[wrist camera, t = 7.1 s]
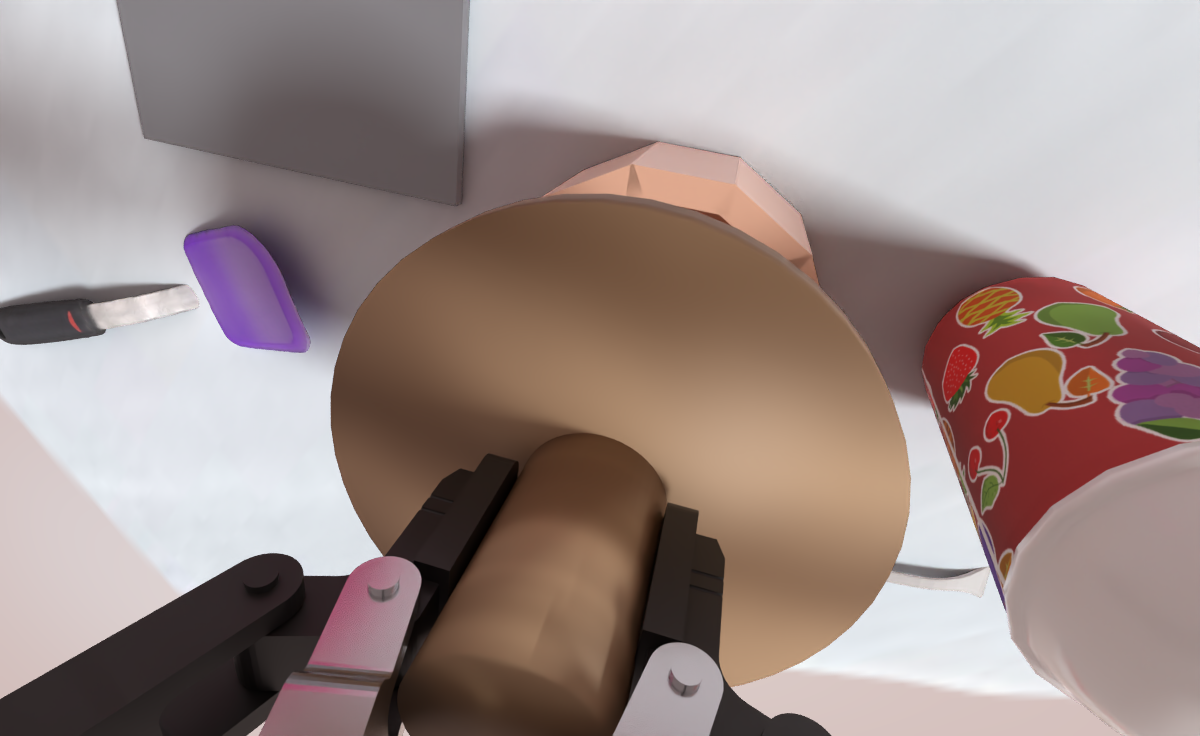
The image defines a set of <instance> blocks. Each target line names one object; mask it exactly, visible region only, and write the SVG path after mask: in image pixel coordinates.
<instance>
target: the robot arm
mask: <svg viewBox="0 0 1200 736" xmlns="http://www.w3.org/2000/svg"><path fill="white" fill-rule="evenodd" d="M518 472H519V462H518V461H516V460H512V459H508V458H505V457H501V456H497V455H494V454H490V453H488V454H486V455H485V457H484V458H483V459H482V461H481V462H480V464H479V465H478V467H477V468H476V470H475V471H474V472H472V471H469V470H465V469H461V468H460V469H458V470H457V471H455V472H453V473H452V474H450V475H448V476H447V477H445V478H443V479H442V480H441V481H440V483H439V484H438V485H437V487H436V488H435V489H434V491H433V492H432V493H431V496H430V498H429V497H428V499H427V500H426V501H425V503H424V504H423V505H422V508H421V510H419V511H418V512H417V513H416V515H415V516H414V517H413V519H412V520H411V522H410V523H409V524H408V526H407V527H406V528H405V530H404V531H403V532H402V534H401V535H400V536H399V538H398V539H397V540H396V542H395V543H394V544H393V546H392V547H391V548H390V550H389V551H388V552H387V554H386V555H385V556H384V557H379V558H375V559H372V560H369V561H367V562H365V563H363V564H361V565H360V566H358V567H357V568H356V569H355V570H354V571H353V572H352V573H351V574H350V575H346V576H304V575H303V569H302V567H301V565H300V563H299V562H298V561H297V560H296V559H294V558H293V557H290V556H288V555H284V554H278V553H268V554H262V555H258V556H254V557H251V558H249V559H246V560H244V561H242V562H240V563H239V564H237V565H235V566H233V567H231V568H230V569H228V570H226V571H224V572H223V573H221V574H219V575H217V576H216V577H214V578H212V579H210V580H209V581H207V582H205V583H203V584H202V585H200V586H198V587H196V588H195V589H193V590H191V591H189V592H188V593H186V594H184V595H182V596H181V597H179V598H177V599H175V600H174V601H172V602H170V603H168V604H166V605H165V606H163V607H161V608H159V609H158V610H156V611H154V612H152V613H151V614H149V615H147V616H146V617H144V618H142V619H140V620H138V621H137V622H135V623H133V624H131V625H130V626H128V627H126V628H125V629H123V630H121V631H119V632H117V633H116V634H114V635H112V636H110V637H109V638H107V639H105V640H103V641H101V642H100V643H98V644H96V645H94V646H93V647H91V648H89V649H87V650H86V651H84V652H82V653H80V654H79V655H77V656H75V657H73V658H72V659H70V660H68V661H66V662H65V663H63V664H61V665H59V666H58V667H56V668H54V669H52V670H50V671H49V672H47V673H45V674H44V675H42V676H40V677H38V678H37V679H35V680H33V681H31V682H29V683H28V684H26V685H24V686H22V687H21V688H19V689H17V690H15V691H14V692H12V693H10V694H8V695H7V696H5V697H3V698H1V699H0V736H247V735H248V734H249V733H251V732H252V731H253V730H254V729H256V728H257V727H258V726H259V725H261V724H262V723H263V722H264V721H266V722H265V724H264V726H263V728H262V731H261V732H260V734H259V736H403V733H404V729H405V726H404V724H403V722H402V720H401V717H400V714H399V711H398V704H397V695H398V689H399V686H400V683H401V681H402V680H403V678H404V676H405V674H406V673H407V671H408V669H409V667H410V666H411V664H412V662H413V660H414V659H415V657H416V655H417V653H418V652H419V650H420V648H421V646H422V645H423V643H424V641H425V639H426V638H427V636H428V634H429V632H430V631H431V629H432V627H433V625H434V624H435V622H436V620H437V618H438V617H439V615H440V613H441V611H442V610H443V608H444V606H445V604H446V603H447V601H448V599H449V597H450V596H451V594H452V592H453V590H454V589H455V587H456V585H457V583H458V582H459V580H460V578H461V576H462V575H463V573H464V571H465V569H466V568H467V566H468V564H469V562H470V561H471V559H472V557H473V555H474V554H475V552H476V550H477V548H478V547H479V545H480V543H481V541H482V540H483V538H484V536H485V534H486V533H487V531H488V529H489V527H490V526H491V524H492V522H493V520H494V519H495V517H496V515H497V513H498V512H499V510H500V508H501V506H502V505H503V503H504V501H505V500H506V498H507V496H508V494H509V493H510V491H511V489H512V487H513V486H514V484H515V482H516V480H517V479H518ZM698 516H699V510H695V509H692V508H688V507H684V506H681V505H677V504H673V503H669V502H668V503H667V506H666V510H665V514H664V517H663V522H662V527H661V532H660V537H659V542H658V546H657V551H656V556H655V561H654V566H653V571H652V576H651V581H650V586H649V591H648V595H647V600H646V605H645V610H644V615H643V620H642V625H641V630H640V635H639V639H638V644H637V649H636V654H635V669H634V675H633V680H632V685H631V690H630V695H629V700H628V705H627V707H626V709H625V711H624V713H623V715H622V717H621V719H620V721H619V724H618V726H617V728H616V730H615V732H614V734H613V736H831V735H830V734H829V733H828V732H827V731H826V730H825V729H824V728H823V727H822V726H821V725H819V724H818V723H816V722H815V721H813V720H811V719H809V718H807V717H805V716H802V715H798V714H792V713H786V714H780V715H777V716H775V717H774V718H772V719H770V718H769V717H767V716H766V715H764V714H763V713H761V712H760V711H758V710H757V709H755V708H753V707H752V706H750V705H749V704H747V703H746V702H745V701H743V700H742V699H741V698H740V697H739V696H738V695H737V694H736V693H735V692H734V691H733V690H732V689H731V687H730V686H729V685H728V683H727V682H726V680H725V678H724V676H723V674H722V671H721V668H720V663H719V649H720V633H721V617H722V601H723V598H722V596H723V586H724V582H723V580H724V570H725V557H724V555H723V552H722V550H721V548H720V545H719V543H718V541H717V539H713V538H710V537H706V536H703V535H699V534H696V531H697V523H698Z"/></svg>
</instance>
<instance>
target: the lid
mask: <svg viewBox="0 0 1200 736" xmlns="http://www.w3.org/2000/svg"><path fill="white" fill-rule="evenodd" d="M331 430H332V436H333V443H334V450H335V456H336V459H337V463H338V466H339V470H340V473H341V477H342V480H343V483H344V486H345V488H346V491H347V493H348V495H349V498H350V500H351V502H352V505H353V507H354V509H355V511H356V513H357V515H358V517H359V519H360V520H361V522H362V524H363V526H364V527H365V529H366V531H367V533H368V535H369V536H370V538H371V539H372V540H373V542H374V543H375V545H376V546H377V548H378V549H379V550H380V552H381V553H382V555H383V556H385V555H386V554H387V552H388V551H389V550H390V548H391V547H392V546H393V544H394V543H395V542H396V540H397V539H398V538H399V536H400V535H401V534H402V532H403V531H404V530H405V528H406V527H407V526H408V524H409V523H410V522H411V520H412V519H413V517H414V516H415V515H416V513H417V512H418V511H419V510H421V508H422V505H423V504H424V503H425V501H426V500H427V499H428V497H429V498H430V496H431V493H432V492H433V491H434V489H435V488H436V487H437V485H438V484H439V483H440V481H441V480H442V479H443V478H445V477H447V476H448V475H450V474H452V473H453V472H455V471H457V470H458V469H460V468H461V469H465V470H469V471H472V472H474V471H475V470H476V468H477V467H478V465H479V464H480V462H481V461H482V459H483V458H484V457H485V455H486V454H488V453H490V454H494V455H497V456H501V457H505V458H508V459H512V460H516V461H518V462H519V472H518V479H517V480H516V482H515V484H514V486H513V487H512V489H511V491H510V493H509V494H508V496H507V498H506V500H505V501H504V503H503V505H502V506H501V508H500V510H499V512H498V513H497V515H496V517H495V519H494V520H493V522H492V524H491V526H490V527H489V529H488V531H487V533H486V534H485V536H484V538H483V540H482V541H481V543H480V545H479V547H478V548H477V550H476V552H475V554H474V555H473V557H472V559H471V561H470V562H469V564H468V566H467V568H466V569H465V571H464V573H463V575H462V576H461V578H460V580H459V582H458V583H457V585H456V587H455V589H454V590H453V592H452V594H451V596H450V597H449V599H448V601H447V603H446V604H445V606H444V608H443V610H442V611H441V613H440V615H439V617H438V618H437V620H436V622H435V624H434V625H433V627H432V629H431V631H430V632H429V634H428V636H427V638H426V639H425V641H424V643H423V645H422V646H421V648H420V650H419V652H418V653H417V655H416V657H415V659H414V660H413V662H412V664H411V666H410V667H409V669H408V671H407V673H406V674H405V676H404V678H403V680H402V681H401V683H400V686H399V689H398V695H397V704H398V711H399V714H400V717H401V720H402V722H403V724H404V726H405V729H406V730H407V732H408V733H409V735H410V736H613V734H614V732H615V730H616V728H617V726H618V724H619V721H620V719H621V717H622V715H623V713H624V711H625V709H626V707H627V705H628V700H629V695H630V690H631V685H632V680H633V675H634V669H635V654H636V649H637V644H638V639H639V635H640V630H641V625H642V620H643V615H644V610H645V605H646V600H647V595H648V591H649V586H650V581H651V576H652V571H653V566H654V561H655V556H656V551H657V546H658V542H659V537H660V532H661V527H662V522H663V517H664V514H665V510H666V506H667V503H668V502H669V503H673V504H677V505H681V506H684V507H688V508H692V509H695V510H699V516H698V523H697V531H696V534H699V535H703V536H706V537H710V538H713V539H717V541H718V543H719V545H720V548H721V550H722V552H723V555H724V557H725V570H724V580H723V582H724V586H723V596H722V598H723V601H722V617H721V633H720V649H719V663H720V668H721V671H722V674H723V676H724V678H725V680H726V682H727V683H728V685H729V686H730V687H734V686H739V685H743V684H746V683H750V682H753V681H756V680H759V679H763V678H766V677H769V676H771V675H774V674H777V673H779V672H781V671H783V670H786V669H788V668H790V667H792V666H794V665H797V664H799V663H801V662H803V661H804V660H806V659H808V658H809V657H811V656H813V655H814V654H816V653H817V652H819V651H821V650H822V649H824V648H825V647H827V646H828V645H830V644H831V643H832V642H833V641H834V640H836V639H837V638H838V637H839V636H841V635H842V634H843V633H844V632H845V631H847V630H848V629H849V628H850V627H851V626H852V625H853V624H854V623H855V622H856V621H857V620H858V619H859V617H860V616H861V615H862V614H863V613H864V612H865V611H866V610H867V608H868V607H869V606H870V605H871V604H872V603H873V601H874V600H875V598H876V596H877V595H878V593H879V592H880V590H881V589H882V587H883V585H884V584H885V582H886V581H887V579H888V578H889V576H890V574H891V571H892V569H893V566H894V564H895V562H896V559H897V557H898V554H899V552H900V550H901V547H902V544H903V539H904V535H905V530H906V526H907V521H908V517H909V507H910V483H911V476H910V469H909V462H908V454H907V447H906V440H905V437H904V434H903V431H902V428H901V424H900V421H899V418H898V415H897V412H896V408H895V405H894V402H893V400H892V397H891V395H890V392H889V390H888V387H887V385H886V382H885V380H884V378H883V376H882V374H881V372H880V370H879V368H878V366H877V364H876V362H875V360H874V358H873V356H872V354H871V352H870V350H869V348H868V346H867V344H866V343H865V341H864V340H863V339H862V337H861V336H860V334H859V333H858V332H857V330H856V329H855V327H854V326H853V325H852V323H851V322H850V320H849V319H848V317H847V316H846V315H845V313H844V312H843V311H842V310H841V308H840V307H839V306H838V305H837V304H836V303H835V302H834V301H833V300H832V299H831V298H830V297H829V296H828V295H827V294H826V293H825V292H824V291H823V290H822V289H821V288H820V287H819V286H818V284H817V283H816V282H815V281H814V280H813V279H811V278H810V277H809V276H808V275H806V274H805V273H804V272H803V271H801V270H800V269H799V268H797V267H796V266H795V265H794V264H792V263H791V262H790V261H789V260H787V259H786V258H785V257H783V256H782V255H781V254H780V253H778V252H777V251H775V250H773V249H772V248H770V247H768V246H767V245H765V244H763V243H762V242H760V241H758V240H756V239H755V238H753V237H751V236H750V235H748V234H746V233H744V232H743V231H741V230H739V229H737V228H735V227H733V226H730V225H728V224H725V223H723V222H721V221H718V220H716V219H713V218H711V217H709V216H706V215H704V214H702V213H699V212H697V211H694V210H690V209H686V208H682V207H679V206H675V205H671V204H668V203H664V202H660V201H656V200H653V199H646V198H638V197H631V196H623V195H615V194H560V195H553V196H547V197H540V198H533V199H526V200H522V201H518V202H515V203H512V204H509V205H505V206H502V207H499V208H495V209H492V210H489V211H486V212H484V213H482V214H479V215H477V216H475V217H473V218H471V219H469V220H467V221H465V222H463V223H461V224H458V225H456V226H454V227H452V228H450V229H449V230H447V231H445V232H443V233H441V234H440V235H438V236H436V237H434V238H432V239H431V240H429V241H428V242H426V243H425V244H424V245H422V246H421V247H419V248H418V249H416V250H415V251H413V252H412V253H411V254H409V255H408V256H406V257H405V258H403V259H402V260H401V261H400V262H399V263H398V264H397V265H396V266H395V267H394V268H393V269H392V270H391V271H390V272H388V273H387V274H386V275H385V276H384V277H383V278H382V279H381V280H380V281H379V282H378V283H377V284H376V286H375V287H374V288H373V290H372V291H371V293H370V294H369V295H368V297H367V298H366V299H365V301H364V302H363V303H362V305H361V306H360V308H359V309H358V311H357V313H356V315H355V317H354V319H353V321H352V323H351V325H350V327H349V329H348V331H347V333H346V335H345V336H344V339H343V342H342V345H341V349H340V352H339V355H338V358H337V362H336V365H335V369H334V376H333V383H332V391H331Z"/></svg>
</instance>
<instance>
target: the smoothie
mask: <svg viewBox="0 0 1200 736" xmlns="http://www.w3.org/2000/svg"><path fill="white" fill-rule="evenodd" d="M921 371H922V375H923V379H924V384H925V388H926V392H927V394H928V397H929V400H930V403H931V405H932V408H933V411H934V414H935V416H936V419H937V422H938V425H939V428H940V430H941V433H942V436H943V439H944V442H945V444H946V447H947V450H948V453H949V455H950V458H951V461H952V464H953V467H954V469H955V472H956V475H957V478H958V480H959V483H960V486H961V489H962V492H963V494H964V497H965V500H966V503H967V505H968V508H969V511H970V514H971V517H972V519H973V522H974V525H975V528H976V530H977V533H978V536H979V539H980V542H981V544H982V547H983V550H984V553H985V556H986V558H987V561H988V564H989V567H990V569H991V572H992V575H993V578H994V581H995V583H996V586H997V589H998V592H999V594H1000V597H1001V600H1002V603H1003V606H1004V608H1005V610H1006V613H1007V619H1008V625H1009V630H1010V635H1011V639H1012V640H1013V642H1014V643H1015V645H1016V646H1017V647H1018V649H1019V650H1020V652H1021V653H1022V654H1023V656H1024V657H1025V659H1026V660H1027V662H1028V663H1029V664H1030V666H1031V667H1032V669H1033V670H1034V672H1035V673H1036V674H1037V675H1039V676H1040V677H1042V678H1043V679H1044V680H1046V681H1047V682H1049V683H1050V684H1052V685H1053V686H1054V687H1056V688H1057V689H1059V690H1060V691H1061V692H1063V693H1064V694H1066V695H1067V696H1068V697H1070V698H1071V699H1073V700H1074V701H1076V702H1077V703H1078V704H1080V705H1083V706H1084V707H1086V708H1087V709H1088V710H1089V711H1090V712H1092V713H1093V714H1094V715H1095V716H1096V717H1098V718H1099V719H1100V720H1101V721H1102V722H1104V723H1105V724H1107V725H1108V726H1109V727H1111V728H1112V729H1114V730H1115V731H1116V732H1118V733H1119V734H1121V735H1122V736H1200V348H1199V347H1197V346H1195V345H1194V344H1192V343H1190V342H1188V341H1186V340H1184V339H1182V338H1180V337H1178V336H1177V335H1175V334H1173V333H1171V332H1169V331H1167V330H1165V329H1163V328H1162V327H1160V326H1158V325H1156V324H1154V323H1152V322H1150V321H1148V320H1147V319H1145V318H1143V317H1141V316H1139V315H1137V314H1135V313H1133V312H1132V311H1130V310H1128V309H1126V308H1124V307H1122V306H1120V305H1118V304H1117V303H1115V302H1113V301H1111V300H1109V299H1107V298H1105V297H1103V296H1102V295H1100V294H1098V293H1096V292H1094V291H1092V290H1090V289H1088V288H1087V287H1085V286H1083V285H1079V284H1076V283H1072V282H1069V281H1066V280H1062V279H1059V278H1055V277H1030V278H1018V279H1014V280H1010V281H1006V282H1002V283H999V284H995V285H991V286H988V287H985V288H982V289H980V290H978V291H977V292H975V293H973V294H971V295H969V296H968V297H966V298H964V299H962V300H961V301H959V302H958V303H957V304H956V305H955V306H954V307H953V308H952V309H951V310H950V311H949V312H948V313H947V314H946V315H945V316H944V317H943V318H942V320H941V321H940V322H939V323H938V324H937V326H936V328H935V330H934V331H933V333H932V335H931V337H930V339H929V340H928V342H927V344H926V346H925V351H924V357H923V363H922V369H921Z"/></svg>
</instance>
